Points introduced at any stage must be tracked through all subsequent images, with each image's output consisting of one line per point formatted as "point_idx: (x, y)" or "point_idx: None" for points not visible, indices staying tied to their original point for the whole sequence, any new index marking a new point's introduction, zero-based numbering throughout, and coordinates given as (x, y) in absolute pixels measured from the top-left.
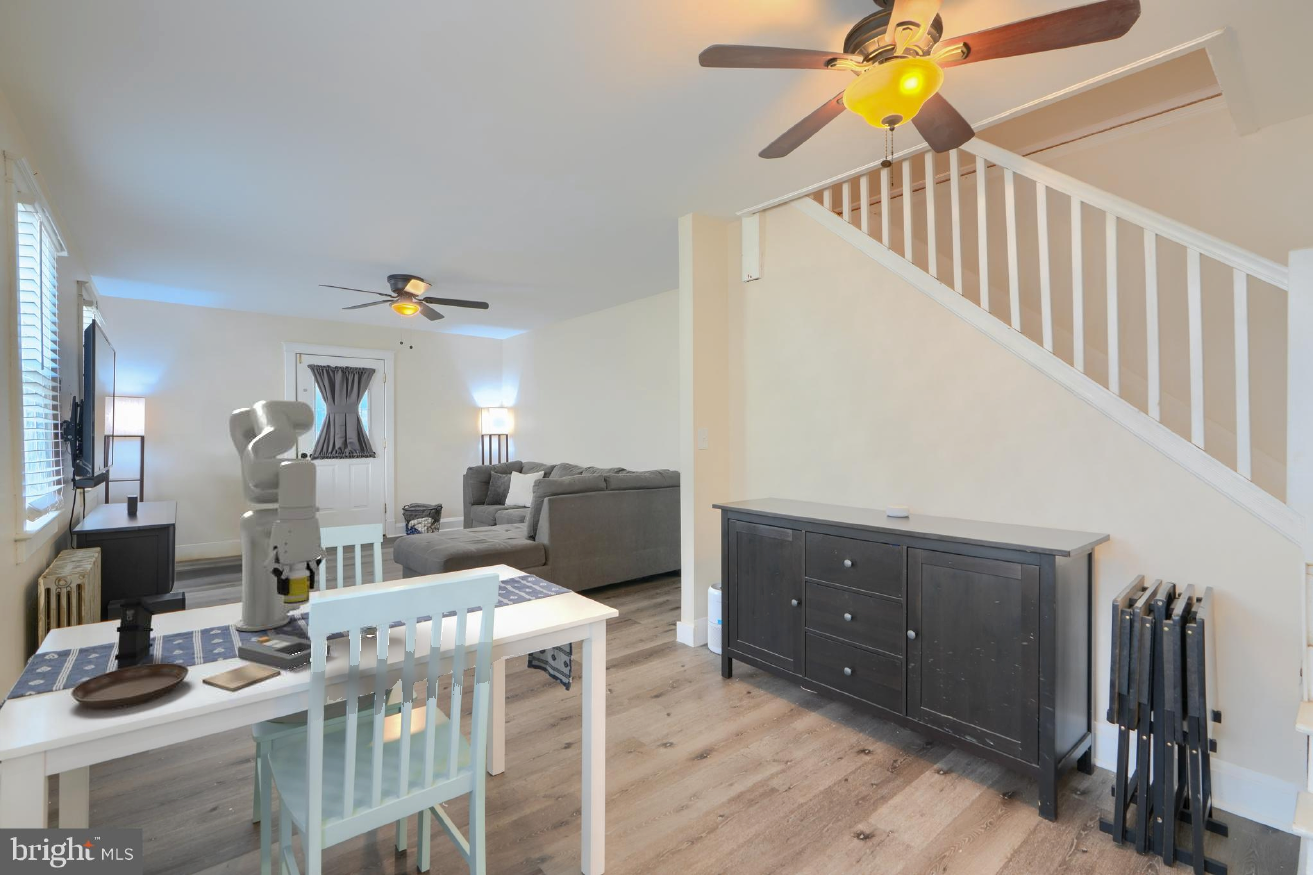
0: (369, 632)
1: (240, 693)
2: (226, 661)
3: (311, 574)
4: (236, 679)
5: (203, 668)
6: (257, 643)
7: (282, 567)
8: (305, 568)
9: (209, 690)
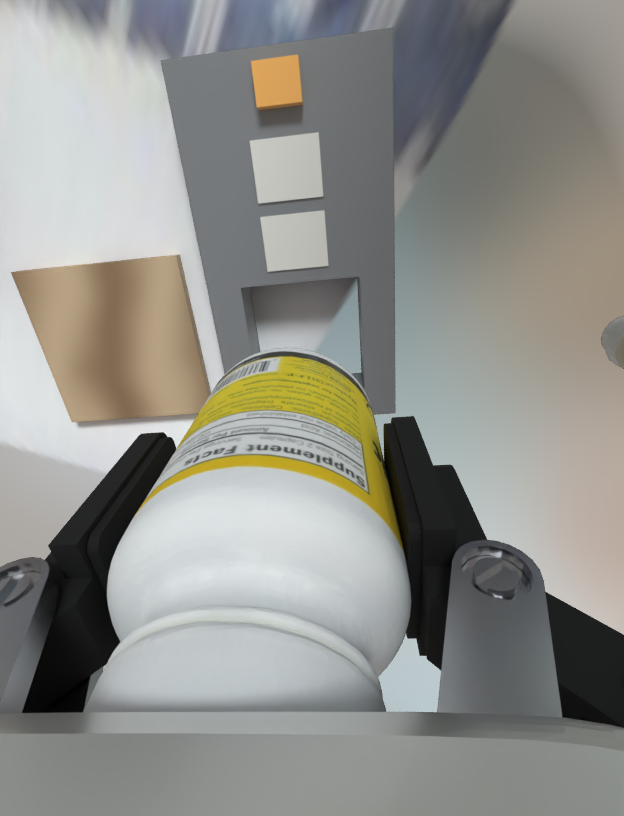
0: (611, 359)
1: (90, 448)
2: (129, 89)
3: (406, 632)
4: (96, 368)
5: (39, 96)
6: (241, 102)
7: (13, 710)
8: (450, 579)
9: (28, 359)
